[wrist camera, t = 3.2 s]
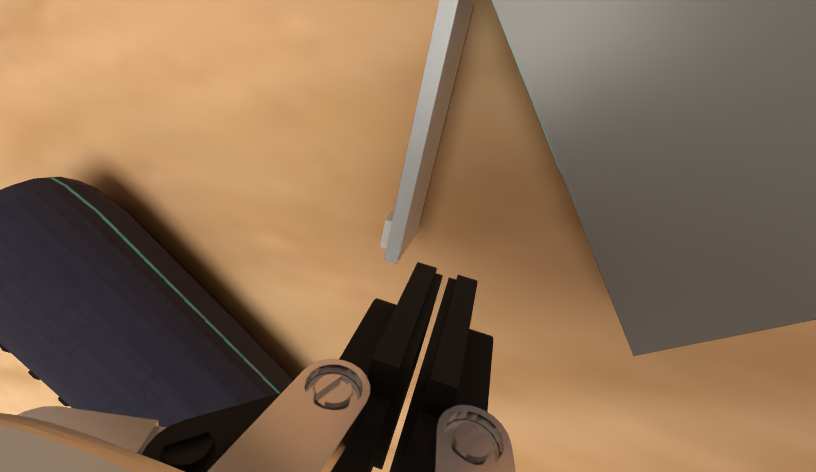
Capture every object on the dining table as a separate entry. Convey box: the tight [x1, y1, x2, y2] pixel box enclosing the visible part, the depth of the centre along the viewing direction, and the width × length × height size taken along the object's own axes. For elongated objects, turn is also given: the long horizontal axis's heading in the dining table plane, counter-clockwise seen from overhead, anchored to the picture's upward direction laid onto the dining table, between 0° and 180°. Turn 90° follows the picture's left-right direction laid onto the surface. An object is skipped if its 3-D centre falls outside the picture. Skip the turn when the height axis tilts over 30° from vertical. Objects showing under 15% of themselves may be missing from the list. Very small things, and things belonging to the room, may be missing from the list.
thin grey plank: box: [380, 0, 474, 263], centre depth 20 cm, size 12×1×4 cm, turn 168°
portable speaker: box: [0, 177, 293, 427], centre depth 28 cm, size 25×10×10 cm, turn 43°
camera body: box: [492, 0, 816, 356], centre depth 16 cm, size 19×12×6 cm, turn 28°
